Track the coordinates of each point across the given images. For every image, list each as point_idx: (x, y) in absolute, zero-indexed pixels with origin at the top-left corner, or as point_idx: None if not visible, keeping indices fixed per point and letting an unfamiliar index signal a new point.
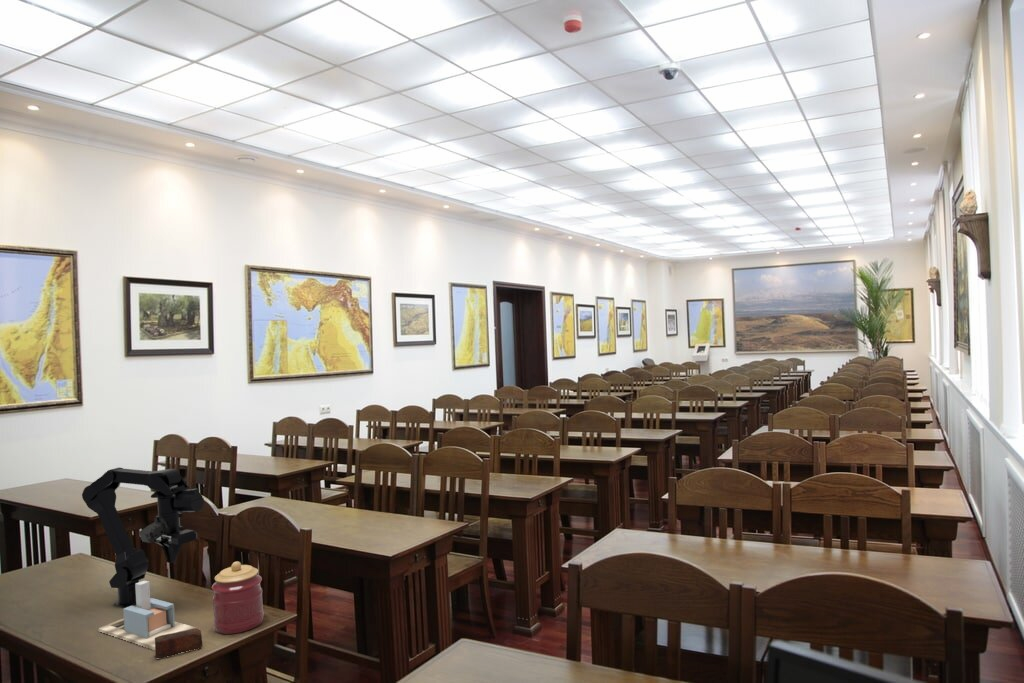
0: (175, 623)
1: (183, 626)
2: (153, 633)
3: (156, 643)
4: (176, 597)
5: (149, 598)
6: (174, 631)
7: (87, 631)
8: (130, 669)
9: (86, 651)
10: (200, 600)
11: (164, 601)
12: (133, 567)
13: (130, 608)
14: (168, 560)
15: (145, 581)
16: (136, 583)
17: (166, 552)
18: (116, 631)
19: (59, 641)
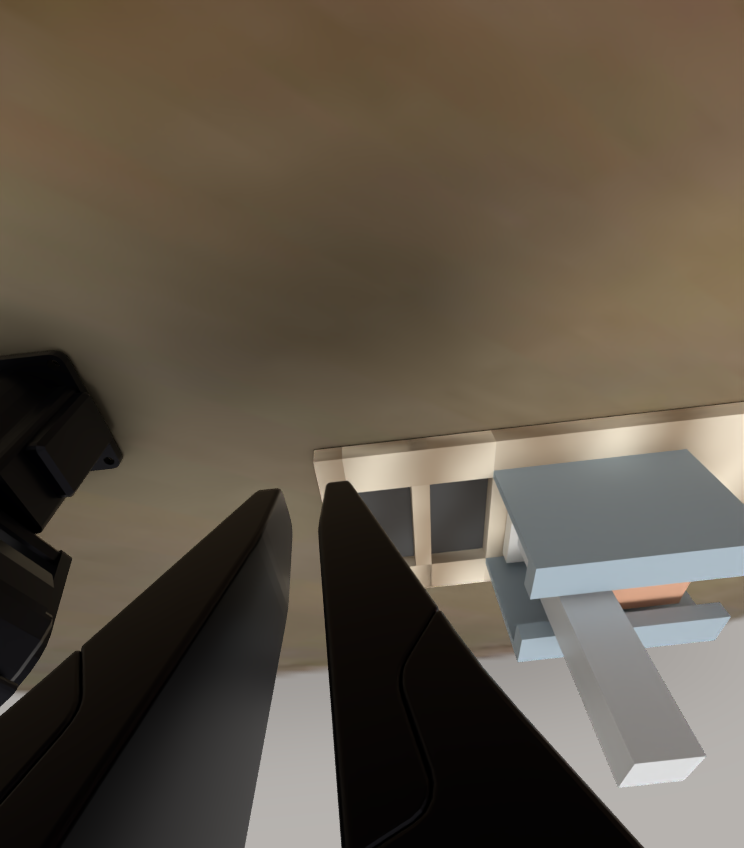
0: (660, 434)
1: (736, 430)
2: None
3: None
4: (178, 181)
5: (631, 631)
6: (725, 471)
7: (298, 598)
8: (737, 605)
9: (477, 630)
10: (444, 96)
11: (680, 553)
12: (12, 683)
13: (554, 649)
14: (290, 563)
15: (666, 763)
16: (627, 785)
17: (260, 745)
18: (451, 576)
19: (306, 649)
